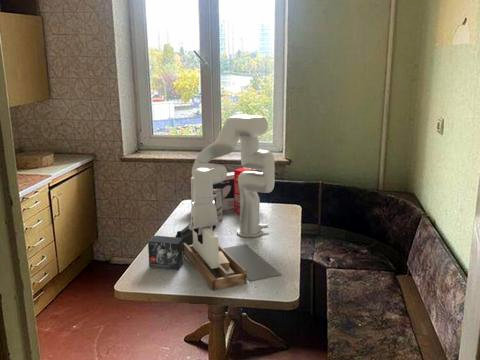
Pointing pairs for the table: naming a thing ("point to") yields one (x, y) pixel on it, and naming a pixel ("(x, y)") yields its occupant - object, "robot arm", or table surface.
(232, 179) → the packaging
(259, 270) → the mat
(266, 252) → the table surface
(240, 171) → the food packaging
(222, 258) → the offcut short
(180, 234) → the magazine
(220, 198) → the coffee box
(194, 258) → the rack
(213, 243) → the cream rectangular panel
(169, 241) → the small box
